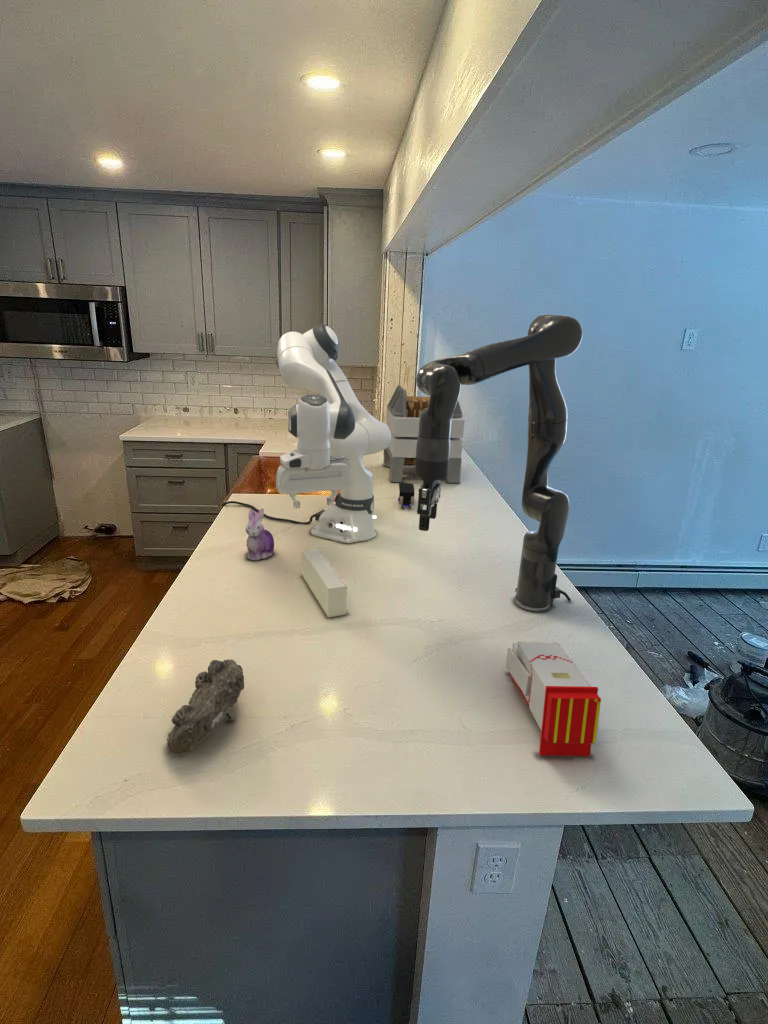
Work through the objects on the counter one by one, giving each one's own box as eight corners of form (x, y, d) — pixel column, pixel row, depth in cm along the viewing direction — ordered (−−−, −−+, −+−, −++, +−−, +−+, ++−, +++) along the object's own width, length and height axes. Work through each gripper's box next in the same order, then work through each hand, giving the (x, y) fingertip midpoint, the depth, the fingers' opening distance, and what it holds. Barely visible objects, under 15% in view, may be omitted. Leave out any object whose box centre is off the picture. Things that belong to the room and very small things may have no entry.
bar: (302, 576, 166) (302, 550, 163) (318, 573, 168) (318, 548, 165) (328, 617, 144) (328, 588, 142) (346, 614, 146) (346, 586, 143)
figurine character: (415, 514, 223) (412, 498, 237) (416, 496, 220) (414, 481, 234) (398, 513, 223) (396, 497, 237) (399, 496, 220) (397, 480, 233)
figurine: (249, 563, 172) (248, 517, 167) (241, 550, 180) (239, 506, 175) (280, 558, 176) (279, 513, 171) (270, 546, 184) (269, 502, 179)
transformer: (382, 463, 289) (386, 382, 275) (445, 464, 293) (451, 384, 279) (390, 482, 257) (394, 392, 243) (460, 483, 261) (468, 394, 247)
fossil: (192, 660, 117) (244, 628, 112) (224, 691, 120) (276, 661, 115) (142, 746, 98) (202, 712, 93) (182, 779, 101) (242, 748, 96)
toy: (554, 624, 127) (610, 694, 97) (548, 679, 130) (602, 763, 100) (500, 623, 126) (541, 693, 97) (496, 678, 129) (534, 763, 100)
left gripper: (346, 452, 158) (345, 499, 163) (273, 456, 151) (274, 505, 155) (354, 458, 153) (353, 506, 157) (279, 462, 145) (280, 513, 150)
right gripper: (443, 465, 119) (437, 537, 124) (454, 450, 132) (448, 516, 137) (408, 461, 120) (404, 532, 126) (423, 447, 133) (418, 512, 139)
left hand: (313, 506), depth 156 cm, fingers open, 8 cm apart
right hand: (427, 523), depth 131 cm, fingers open, 8 cm apart
